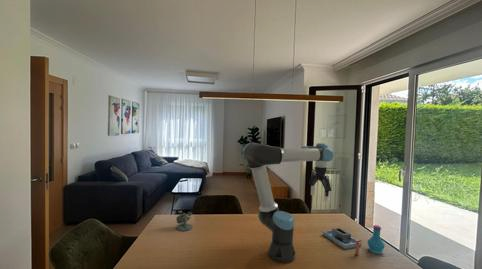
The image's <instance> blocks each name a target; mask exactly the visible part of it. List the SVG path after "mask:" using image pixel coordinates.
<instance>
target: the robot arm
mask: <svg viewBox="0 0 482 269" xmlns="http://www.w3.org/2000/svg"><path fill="white" fill-rule="evenodd" d="M241 155H242V157H243V159H244V160H245V161H246V163H247V167H248V169H250V170H251V172H252V176H253V180H254V184H255V189H256V193H257V196H258V200H259V204H260V206H259V207H258V210H259V211H258V213H257V214H258V220H259V221H260V222H261V224H262V225H263V226H265V228H267V229H268V230H270V231H271V232H272V233H271V234H272V235H271V242H270V244H269V248H268V251H267V252H268V253H267V255H268V258H270V259H271V260H272V261H274V262H276V263H277V262H278V263H284V264H287V263H288V264H289V263H291V262H293V261H295V259H296V250H295V247H294V242H293V241H294V228H295V221H294V220H295V219H294V217H293V215H292V214H291V213H289V212H287V211H286V212H285V211H283V210H280V208H279V205H278V203H277V202H275V200H274V196H273V192H272V187H271V183H270V178H269V174H268V170H267V167H266V166H270V165H271V166H273V165H280V164H282V163H292V162H293V163H295V162H297V163H298V162H314V165H315V166H314V171H312V173H311V177H310V179H309V182H308V184H309V185H310V196H315V195H316V194H315V192H316V184H317V182H318V181H320V182H321V184H322V186H323V189H324V191H323V200H322V201H323V202H329V196H330V195H329V194H330V192H332V187H331V182H330V179H329V178H330V176H329V175H326V174H327V169H328V168H327V166H328V162H331V161H333V159H334V151H333V150H332V149H329V144H327V143H322V142H321V143H319V142H317V143H316V144H315V145H312V146H311V145H304V146H301V148H296V147H295V148H293V147H292V148H281V147H280V146H271V145H266V144H264V143H258V142H249V143H246V144H245V145H244V147H243V149H242V154H241Z"/></svg>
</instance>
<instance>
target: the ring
mask: <svg viewBox="0 0 482 269" xmlns="http://www.w3.org/2000/svg"><path fill="white" fill-rule="evenodd" d="M331 230H332V237H334V238H336V239H337V240H339V241H340V242H342V243H343V244H344V243H350V241H351V237H352V234H351V233H350V232H348V231H346V230H345V229H343V228H341V227H335V228H332V229H331Z"/></svg>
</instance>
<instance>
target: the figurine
mask: <svg viewBox="0 0 482 269" xmlns="http://www.w3.org/2000/svg"><path fill="white" fill-rule="evenodd" d="M177 213H178V214H179V215H178V216H176V219H175V220H176V223H177V224H178V225H176V227H175V229H176V230H177V231H179V232H188V231H191V230H192V229H193V225H192V224H190V223H187V222H188V221H189V220H190V219H191V218H192V215H193V212H190V211H189V212H187V213H185V212H183V211H182V210H178V212H177Z"/></svg>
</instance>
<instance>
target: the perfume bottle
mask: <svg viewBox="0 0 482 269" xmlns="http://www.w3.org/2000/svg"><path fill="white" fill-rule="evenodd" d="M372 228H373V231H372V232H373V234H372V236H371V237H369V239H367V245H368V247H369V251H370V252H372V253H374V254H382V253H383V250H384V248H385V243H384V241H383V239H382V238H381V237H380V236H381V230H382V227H380V225H376V224H375V225H372Z"/></svg>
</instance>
